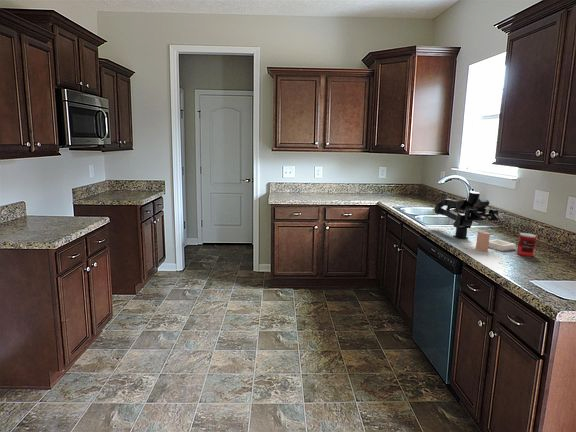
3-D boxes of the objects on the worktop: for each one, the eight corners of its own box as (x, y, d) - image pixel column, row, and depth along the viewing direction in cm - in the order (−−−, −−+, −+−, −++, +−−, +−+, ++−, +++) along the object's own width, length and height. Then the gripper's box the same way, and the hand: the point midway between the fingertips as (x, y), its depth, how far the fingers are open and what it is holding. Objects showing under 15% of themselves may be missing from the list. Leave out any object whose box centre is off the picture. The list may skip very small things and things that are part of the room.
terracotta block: (475, 248, 230) (477, 231, 228) (483, 248, 230) (486, 231, 229) (479, 250, 226) (481, 233, 224) (487, 251, 226) (490, 233, 224)
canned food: (524, 252, 227) (527, 232, 225) (536, 256, 219) (540, 236, 217) (513, 253, 224) (516, 233, 222) (525, 257, 217) (528, 236, 215)
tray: (484, 246, 236) (485, 241, 235) (496, 244, 242) (497, 239, 241) (503, 251, 227) (504, 245, 226) (514, 249, 232) (515, 244, 232)
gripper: (462, 196, 238) (479, 205, 224) (491, 197, 242) (509, 205, 227) (458, 215, 242) (474, 224, 227) (487, 215, 245) (504, 225, 231)
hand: (491, 219), depth 228 cm, fingers open, 9 cm apart
